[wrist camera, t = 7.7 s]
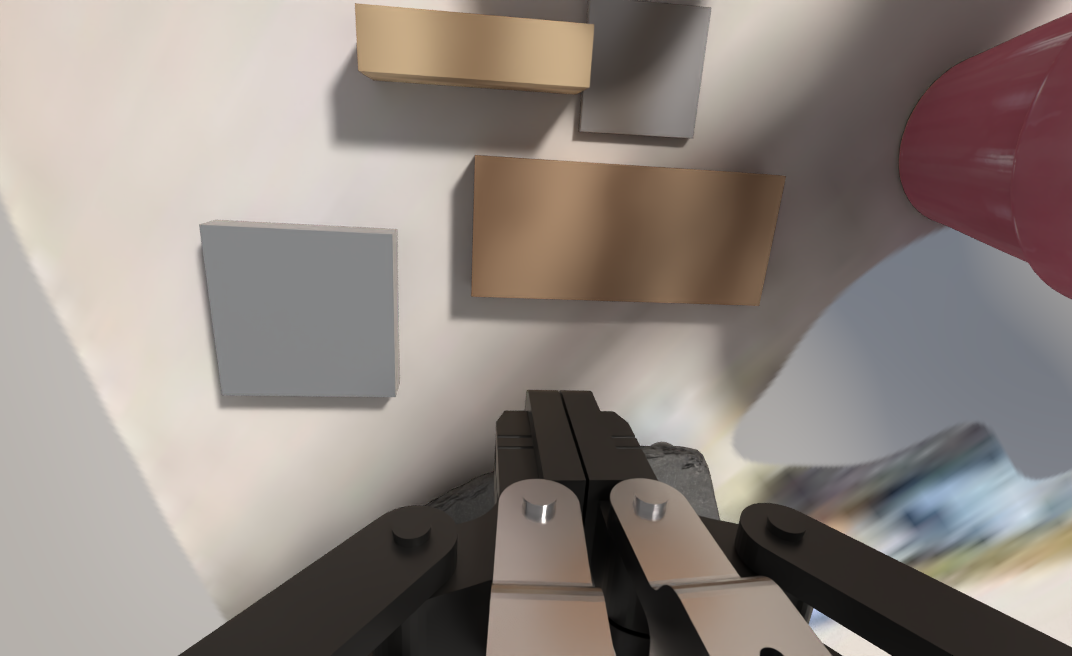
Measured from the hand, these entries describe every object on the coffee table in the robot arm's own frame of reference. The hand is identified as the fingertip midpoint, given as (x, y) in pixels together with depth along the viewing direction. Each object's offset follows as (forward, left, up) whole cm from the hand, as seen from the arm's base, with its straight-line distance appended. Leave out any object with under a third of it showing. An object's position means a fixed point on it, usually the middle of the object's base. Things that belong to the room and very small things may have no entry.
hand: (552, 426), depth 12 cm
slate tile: (+6, +3, -17) cm, 18 cm away
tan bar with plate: (-1, -10, -18) cm, 21 cm away
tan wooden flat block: (-6, -2, -18) cm, 19 cm away
